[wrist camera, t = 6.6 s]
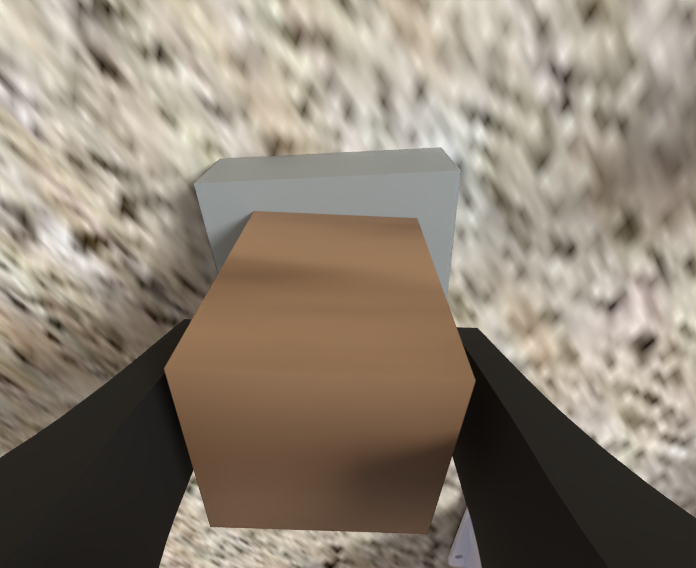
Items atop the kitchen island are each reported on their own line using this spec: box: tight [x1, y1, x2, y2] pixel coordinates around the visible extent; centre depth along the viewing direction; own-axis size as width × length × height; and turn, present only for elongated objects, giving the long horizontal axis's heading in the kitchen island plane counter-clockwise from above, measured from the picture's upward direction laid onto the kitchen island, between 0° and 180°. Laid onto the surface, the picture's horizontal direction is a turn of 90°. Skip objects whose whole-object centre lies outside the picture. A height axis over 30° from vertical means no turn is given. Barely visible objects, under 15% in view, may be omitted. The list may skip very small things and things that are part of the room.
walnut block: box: [164, 211, 476, 534], centre depth 9 cm, size 4×4×6 cm
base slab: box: [194, 148, 461, 300], centre depth 13 cm, size 7×7×3 cm
